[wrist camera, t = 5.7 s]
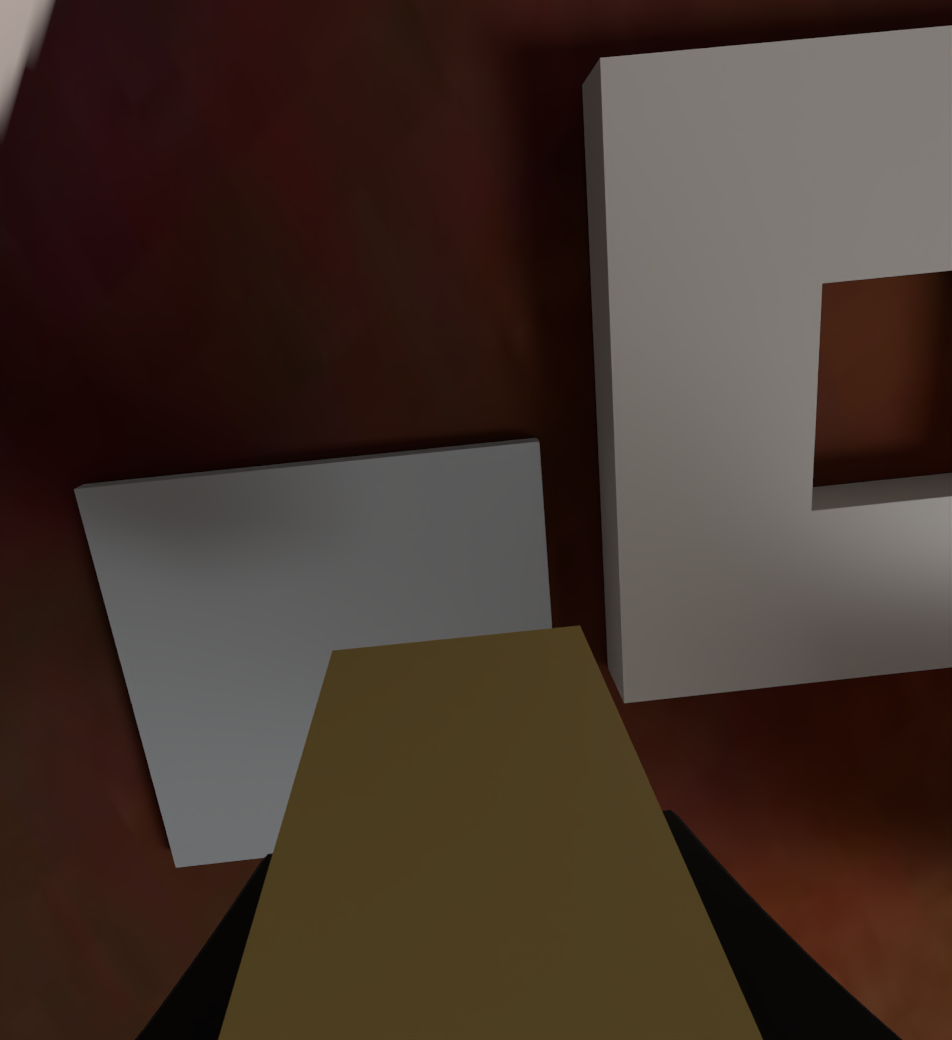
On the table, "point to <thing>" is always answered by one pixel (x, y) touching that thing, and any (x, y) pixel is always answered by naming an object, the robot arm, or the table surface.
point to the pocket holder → (758, 357)
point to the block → (478, 863)
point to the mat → (296, 605)
